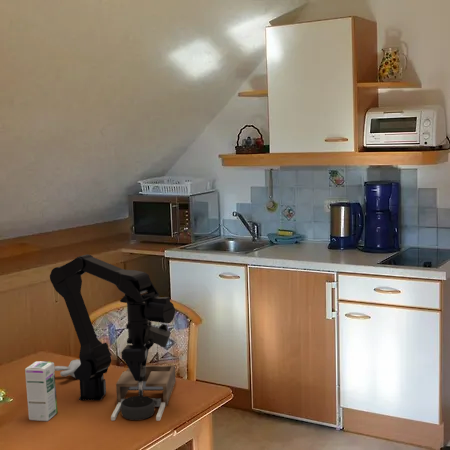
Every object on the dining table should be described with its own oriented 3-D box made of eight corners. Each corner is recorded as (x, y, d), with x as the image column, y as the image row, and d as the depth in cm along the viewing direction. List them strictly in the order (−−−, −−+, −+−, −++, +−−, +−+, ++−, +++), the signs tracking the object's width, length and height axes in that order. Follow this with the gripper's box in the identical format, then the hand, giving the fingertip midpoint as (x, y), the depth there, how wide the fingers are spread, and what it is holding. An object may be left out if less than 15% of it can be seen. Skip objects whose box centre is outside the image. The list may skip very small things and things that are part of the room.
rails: (111, 420, 181) (110, 416, 181) (118, 405, 191) (118, 402, 190) (160, 420, 180) (159, 416, 180) (165, 405, 190) (165, 402, 190)
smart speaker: (133, 406, 190) (132, 392, 190) (160, 411, 186) (160, 397, 186) (114, 418, 182) (114, 404, 182) (143, 424, 178) (142, 409, 178)
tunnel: (117, 405, 191) (116, 383, 190) (129, 381, 209) (129, 361, 209) (167, 405, 190) (166, 383, 189) (175, 381, 209) (174, 361, 208)
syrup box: (48, 421, 181) (45, 368, 179) (27, 420, 182) (24, 367, 180) (57, 413, 186) (55, 361, 184) (37, 411, 188) (34, 360, 186)
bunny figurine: (109, 363, 215) (63, 367, 206) (108, 379, 215) (62, 384, 206) (96, 355, 222) (52, 359, 214) (95, 371, 223) (51, 375, 214)
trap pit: (128, 390, 202) (128, 389, 202) (132, 382, 208) (132, 381, 208) (169, 390, 201) (168, 389, 201) (171, 382, 208) (171, 381, 208)
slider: (120, 408, 188) (118, 368, 186) (122, 403, 191) (121, 364, 190) (160, 408, 187) (159, 368, 186) (162, 403, 191) (160, 364, 189)
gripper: (162, 328, 176) (164, 386, 178) (172, 310, 195) (174, 363, 197) (119, 328, 177) (122, 387, 179) (133, 310, 195) (135, 363, 197)
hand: (140, 374), depth 188 cm, fingers open, 9 cm apart
